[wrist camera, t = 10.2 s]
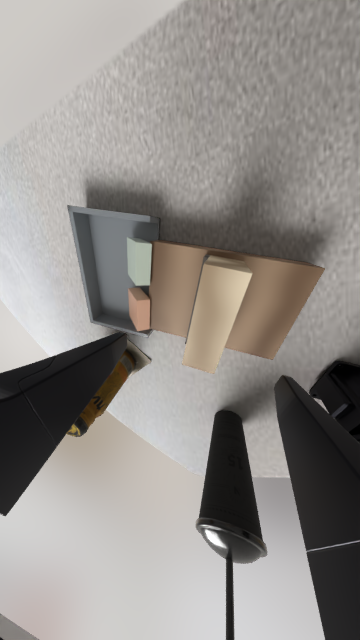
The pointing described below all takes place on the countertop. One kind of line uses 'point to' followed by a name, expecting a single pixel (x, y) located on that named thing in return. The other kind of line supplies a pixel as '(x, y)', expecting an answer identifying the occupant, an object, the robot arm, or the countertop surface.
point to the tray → (109, 262)
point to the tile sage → (139, 260)
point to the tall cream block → (214, 310)
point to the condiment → (110, 388)
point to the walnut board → (258, 302)
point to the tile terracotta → (139, 308)
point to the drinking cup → (230, 504)
